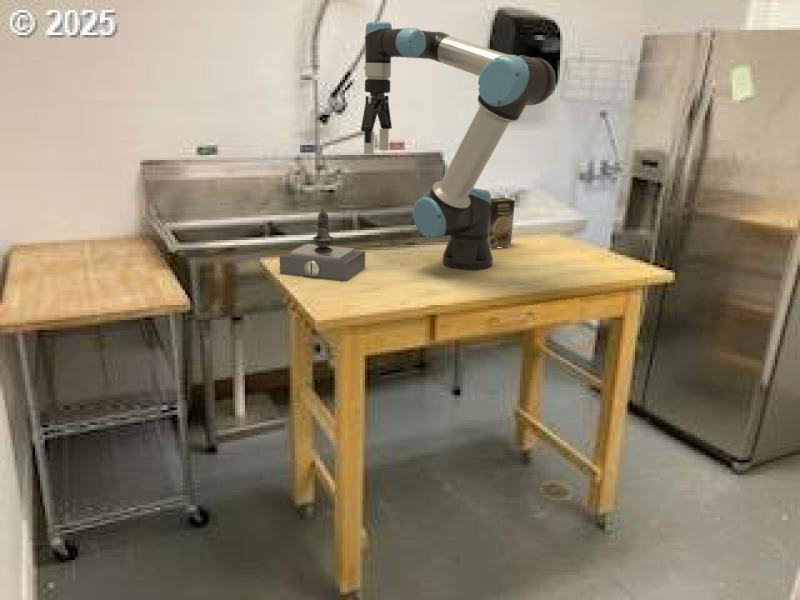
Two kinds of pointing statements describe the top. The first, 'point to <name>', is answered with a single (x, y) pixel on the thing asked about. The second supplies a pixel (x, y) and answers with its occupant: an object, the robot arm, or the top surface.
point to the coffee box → (501, 222)
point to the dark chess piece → (323, 234)
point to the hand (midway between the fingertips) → (376, 152)
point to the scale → (323, 262)
